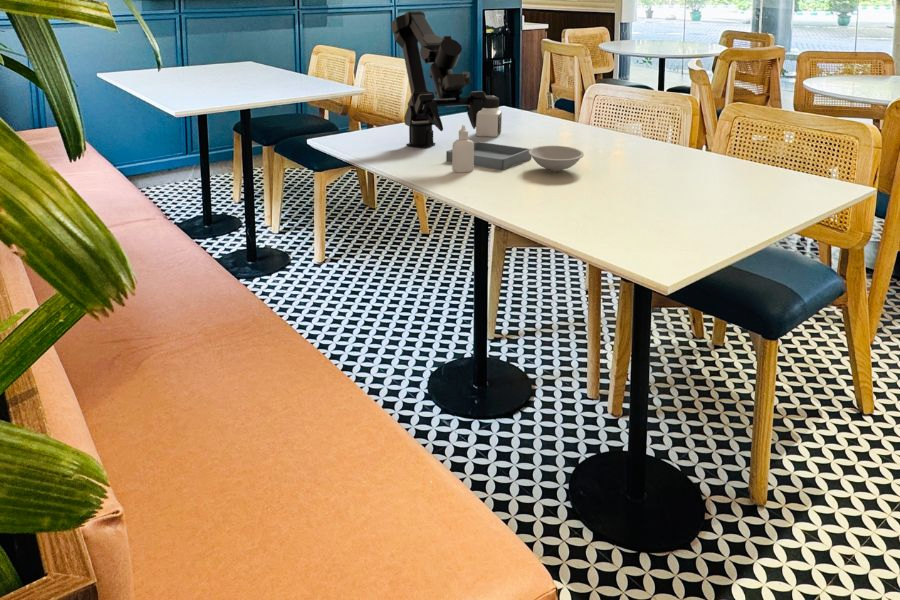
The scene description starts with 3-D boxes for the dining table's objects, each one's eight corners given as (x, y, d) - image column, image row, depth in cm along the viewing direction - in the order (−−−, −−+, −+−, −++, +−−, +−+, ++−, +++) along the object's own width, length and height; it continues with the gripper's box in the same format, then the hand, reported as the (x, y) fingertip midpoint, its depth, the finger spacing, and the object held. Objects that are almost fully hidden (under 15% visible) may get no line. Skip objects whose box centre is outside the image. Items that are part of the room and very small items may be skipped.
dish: (525, 163, 227) (526, 145, 225) (577, 163, 227) (579, 145, 225) (530, 179, 211) (531, 159, 209) (587, 179, 210) (588, 160, 209)
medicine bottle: (498, 137, 260) (499, 98, 255) (475, 136, 261) (476, 97, 257) (501, 133, 266) (502, 95, 262) (479, 132, 268) (480, 94, 263)
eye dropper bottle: (452, 169, 220) (452, 123, 216) (473, 169, 220) (474, 124, 215) (452, 173, 216) (452, 127, 212) (473, 173, 216) (474, 127, 211)
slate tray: (446, 161, 229) (446, 151, 228) (477, 151, 241) (477, 141, 240) (502, 170, 219) (502, 159, 218) (531, 158, 232) (531, 149, 231)
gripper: (417, 62, 213) (431, 112, 207) (484, 59, 219) (500, 108, 213) (408, 89, 222) (422, 138, 217) (473, 86, 228) (488, 133, 223)
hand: (458, 129), depth 217 cm, fingers open, 9 cm apart
